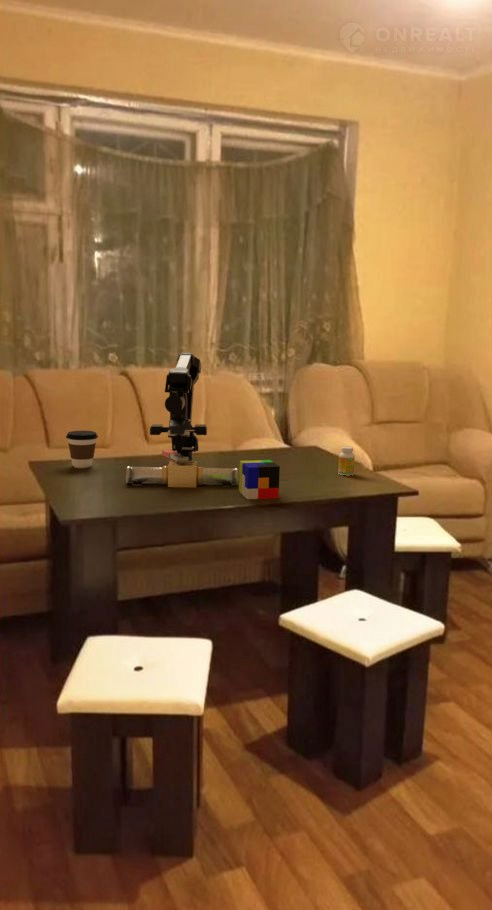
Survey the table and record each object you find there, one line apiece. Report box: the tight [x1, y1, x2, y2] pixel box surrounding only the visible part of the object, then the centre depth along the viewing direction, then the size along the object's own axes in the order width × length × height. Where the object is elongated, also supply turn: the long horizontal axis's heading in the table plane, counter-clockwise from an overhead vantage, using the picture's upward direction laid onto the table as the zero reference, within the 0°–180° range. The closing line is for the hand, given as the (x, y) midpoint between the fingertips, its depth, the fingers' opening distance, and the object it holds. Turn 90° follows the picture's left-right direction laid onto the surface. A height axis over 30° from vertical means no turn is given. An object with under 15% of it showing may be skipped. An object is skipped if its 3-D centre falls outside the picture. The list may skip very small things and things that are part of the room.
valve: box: [125, 460, 239, 488], centre depth 258 cm, size 8×36×7 cm, turn 93°
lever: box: [161, 448, 188, 463], centre depth 262 cm, size 15×4×2 cm, turn 29°
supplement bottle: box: [337, 446, 356, 477], centre depth 279 cm, size 5×5×10 cm
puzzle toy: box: [238, 459, 281, 500], centre depth 247 cm, size 10×10×10 cm
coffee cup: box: [65, 430, 99, 469], centre depth 280 cm, size 11×11×12 cm
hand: (179, 455), depth 266 cm, fingers closed
